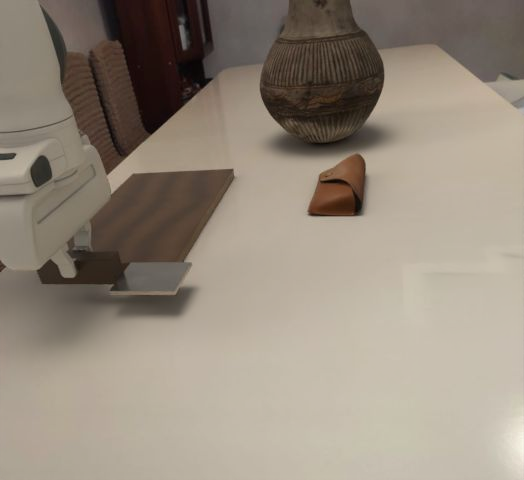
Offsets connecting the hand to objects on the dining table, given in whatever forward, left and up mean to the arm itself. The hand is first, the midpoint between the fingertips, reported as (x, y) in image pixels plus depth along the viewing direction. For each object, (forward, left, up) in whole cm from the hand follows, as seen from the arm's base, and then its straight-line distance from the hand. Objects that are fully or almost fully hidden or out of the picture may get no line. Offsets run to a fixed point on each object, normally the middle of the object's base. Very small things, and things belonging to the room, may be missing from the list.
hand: (78, 267), depth 64 cm
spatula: (+4, 0, -2) cm, 4 cm away
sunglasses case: (+29, +33, -5) cm, 44 cm away
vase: (+24, +64, -5) cm, 69 cm away
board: (-1, +25, -5) cm, 26 cm away
